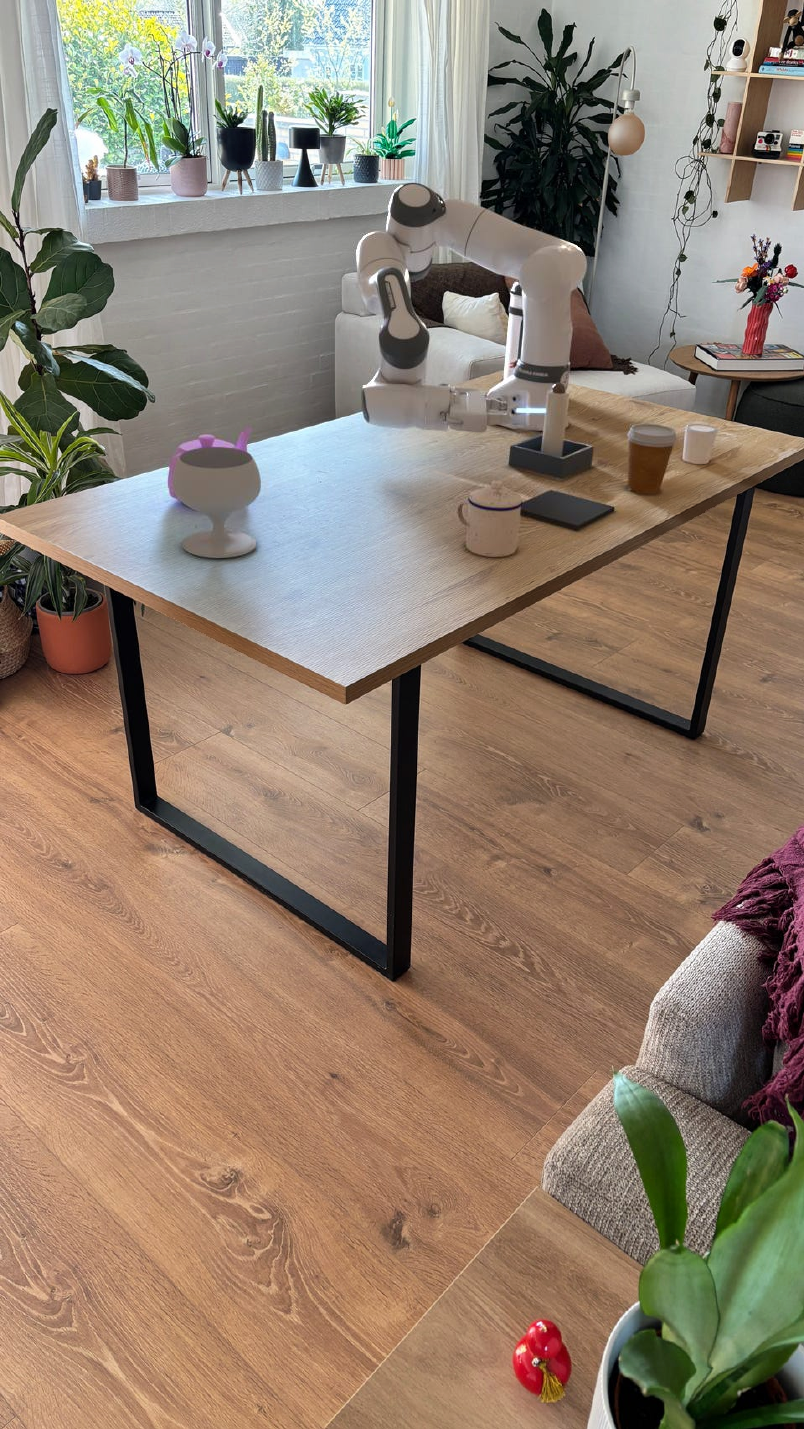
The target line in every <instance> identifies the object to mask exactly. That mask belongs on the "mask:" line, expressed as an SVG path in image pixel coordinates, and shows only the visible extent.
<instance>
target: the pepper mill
mask: <svg viewBox="0 0 804 1429" xmlns="http://www.w3.org/2000/svg"><path fill="white" fill-rule="evenodd" d="M569 401H570V391H568V390H566V387H565V385H564V384H563V383H560V382H559V383H555V384H554V385H553V387H552V389H551V390H548V392H547V401H546V410H545V419H544V429H543V431H542V434H543V438H542V447H541V452H543V453H547V454H551V455H555V456H559V457H562V452H563V444H564V439H565V434H566V428H567V427H566V418H568V410H569ZM565 427H566V428H565Z"/></svg>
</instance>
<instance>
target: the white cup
mask: <svg viewBox="0 0 804 1429" xmlns="http://www.w3.org/2000/svg"><path fill="white" fill-rule="evenodd" d="M718 430H719V429H718V428H716V427H715V426H711V425H707V424H701V423H700V424H698V423H695V424H694V423H692V424H691V423H690V424H686V425H685V427H684V439H683V449H682V450H683V451H682V461H683V462H686V463H689V464H694V465H706V464H709V463H710V459H711V456H712V452H713V449H714V445H715V442H716V438H717V435H718Z"/></svg>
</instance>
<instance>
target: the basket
mask: <svg viewBox="0 0 804 1429" xmlns="http://www.w3.org/2000/svg"><path fill="white" fill-rule="evenodd" d="M542 438H543V433H541V434H538V435H535V436H532V437H530V438H527V439H525V440H522V441H519V442H517V443H514V444H511V445H510V446H509V454H508V466H511V467H514V468H518V469H522V470H525V471H530V472H533V473H537V474H540V475H541V474H542V475H545V476H549V477H554V478H557V479H561V480H562V479H564V478H566V477H568V476H570V475H572V474H576V473H578V472H579V471H582V470H584V469H586V468H588V467H591V466H592V465H593V459H594V458H593V456H594V450H595V446H594V445H590V444H587V443H582V442H579V441H574V440H571V439H565V438H564V444H563V452H562V457H559V456H555V455H551V454H547V453H543V452H541V447H542Z"/></svg>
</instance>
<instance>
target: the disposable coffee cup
mask: <svg viewBox="0 0 804 1429" xmlns="http://www.w3.org/2000/svg"><path fill="white" fill-rule="evenodd" d="M626 435H627V440H628V459H627V460H628V463H627V487H628V489H630V491H629V492H632V493H635V494H638V495H647V496H652V495H657V494H659V493H660V491H661V487H662V484H663V481H664V478H665V473H666V471H667V469H668V468H667V467H668V464H669V461H670V458H671V454H672V451H673V447H674V445H675V444H676V442H678V441H677V440H678V437H677V432H676V430H675V429H673V428H672V427H669V426H665V425H661V424H655V423H637V424H633V425H632V426H631V427H630V428H629V431H628V432H627V434H626Z"/></svg>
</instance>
